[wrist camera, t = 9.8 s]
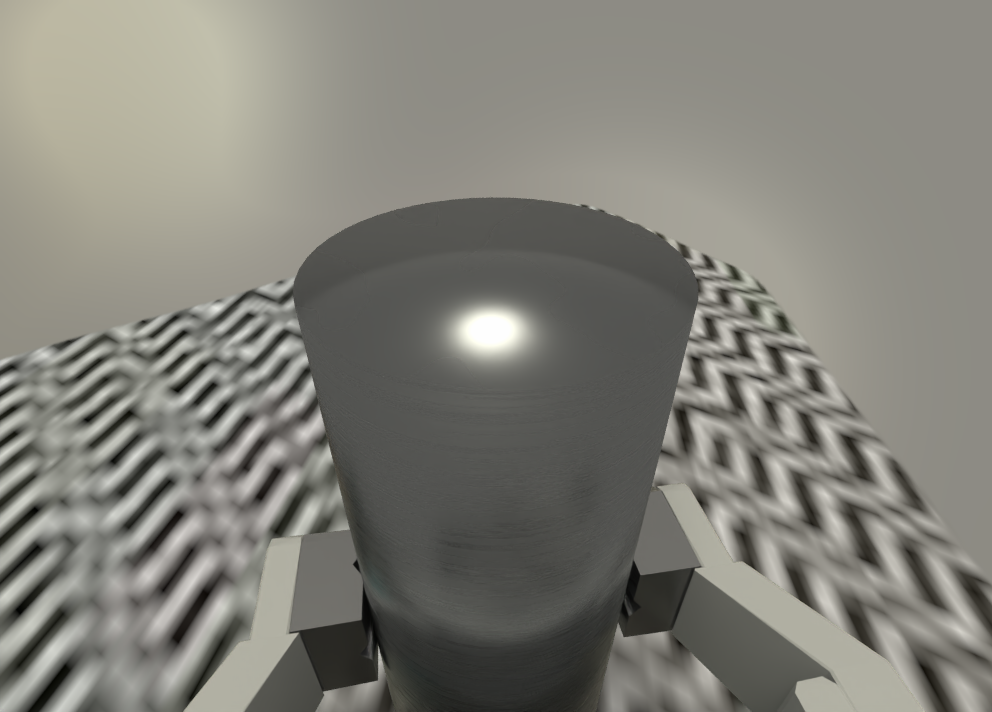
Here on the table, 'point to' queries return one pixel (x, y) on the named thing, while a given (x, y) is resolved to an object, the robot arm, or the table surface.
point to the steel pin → (495, 435)
